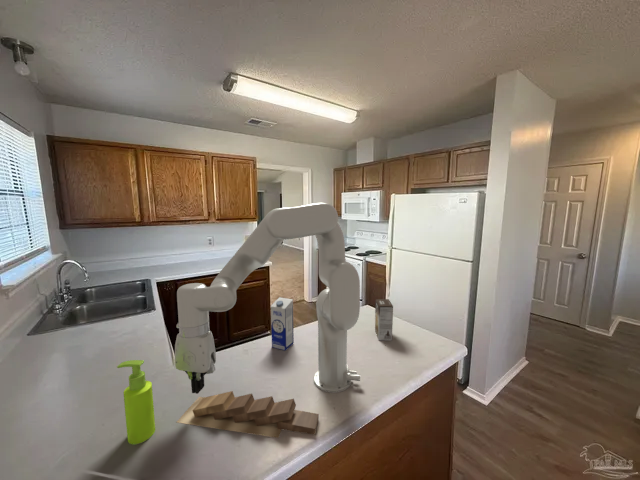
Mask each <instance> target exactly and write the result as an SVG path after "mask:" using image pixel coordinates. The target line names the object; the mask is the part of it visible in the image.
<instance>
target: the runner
mask: <svg viewBox="0 0 640 480" xmlns="http://www.w3.org/2000/svg"><path fill="white" fill-rule="evenodd" d="M205 397H206V396H205ZM205 397H204V396H198V397H197V399H195V401H194V402H193V403H192V404H191V405H190V406H189V407H188V408H187V410H185V412H184V413H183V414H182V415H181V416H180V417H179V418H178V420H177V421H176V423H178V424H184V425H190V426H198V427H205V428H209V429H210V428H211V429H219V430H223V431H229V432H238V433H243V434H250V435H251V434H252V435H256V436H264V437H270V438H277V439H279V438H280V435H281V432H282V430H281V429H277V426H278V422H275V423H270V424H265V425H260V426H257V425H256V422H255V420H254V419H252V420H247V421H242V422H237V423H235V421H234V419H233V416H231V417H226V418H221V419H217V420H215V419H214V417H213V414H212V413H211V414H206V415H202V416H197V417H195V416H194V413H193V411H192V410H193V409H194V408H195V407H196V406H197V405H198V404H199V402H200V401H201V400H202V399H203V398H205Z"/></svg>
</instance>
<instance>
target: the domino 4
mask: <svg viewBox="0 0 640 480" xmlns="http://www.w3.org/2000/svg"><path fill="white" fill-rule="evenodd" d="M296 407H297V404H296V401H295V399H294V398H291V399H286V400H281V401H278V402H275V403H274V405H273V407H272V409H271V411H270V413H269V415H268V416H267V417H262V418H257V419H254V420H255V422H256V425H257V426H260V425H265V424H270V423H275V422H280V421H285V420H290V419H291V418H292V415H293V412H294V410H296Z"/></svg>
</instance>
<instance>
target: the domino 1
mask: <svg viewBox="0 0 640 480" xmlns="http://www.w3.org/2000/svg"><path fill="white" fill-rule="evenodd" d="M235 397H236V396H235V395H234V391H233V390H231V391H226V392H222V393H218V394H214V395H210V396H205V398H203V399H202V400H201V401H200V402H199V404H198V405H197V406H196V407H195V408H194V409H193V410H192V411H193V413H194V416H195V417H197V416H202V415H206V414H211V413H216V412H220V411H225V410H226V409H227V408H228V406H229V405H230V404H231V402H232V401H233V399H234V398H235Z"/></svg>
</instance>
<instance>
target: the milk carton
mask: <svg viewBox="0 0 640 480" xmlns="http://www.w3.org/2000/svg"><path fill="white" fill-rule="evenodd" d="M270 318H271V319H270V323H271V324H270V325H271V348H273V349H277V350H282V351H284V352H285V351H287V350H288V349H290V348H291V346H293V345H294V344H293V343H295V342H294V334H295V333H294V299H292V298H287V297H281V296H279V297H278V298H277V299H276V300H275V301H274V302H273V303H272V304H271V305H270Z"/></svg>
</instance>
